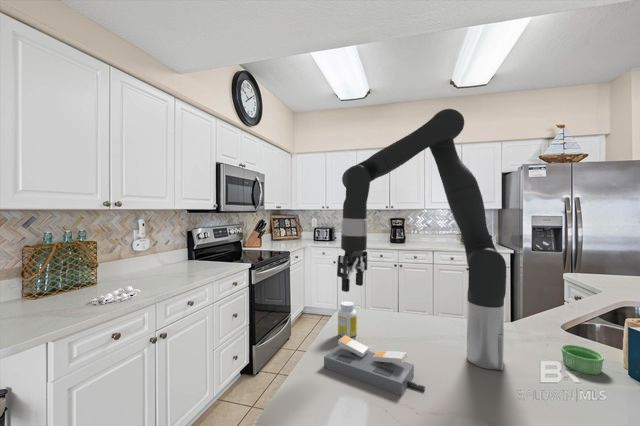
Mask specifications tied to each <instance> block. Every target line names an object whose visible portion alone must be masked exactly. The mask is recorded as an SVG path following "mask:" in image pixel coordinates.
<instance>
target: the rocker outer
mask: <svg viewBox="0 0 640 426" xmlns="http://www.w3.org/2000/svg"><path fill="white" fill-rule="evenodd" d="M337 345H338V346H339V345H340V346H342V347H344V348H346V349H348V350H350V351H351V352H353V353H355V354H357V355H359V356H361V357H363V356H364V355H365V354H366V353H367V352H368V351H370V348H369V346H367V345H366V344H362V343H361V342H359V341H357V340H355V339H351V338H349V337H347V336H346V335H345V336H343V337H342V338H339V339H338V342H337Z"/></svg>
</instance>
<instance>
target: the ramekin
mask: <svg viewBox="0 0 640 426" xmlns="http://www.w3.org/2000/svg"><path fill="white" fill-rule="evenodd" d="M560 349H561V350H560V351H561V353H562V362H563V364H564V365H565V366H566V365H567V366H566V367H568V368H569V367H570V369H571V370H573V369H574V370H573V371H576V372H579V373H582V374H586V375H595V376H596V375H600V374H601V373H602V370H603V362H604V360H605V357H604V355H603V354H602V353H600V352H598V351H596V350H594V349H591V348H588V347H585V346H581V345H577V344H576V345H575V344H562V345H561V347H560Z"/></svg>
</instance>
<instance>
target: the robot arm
mask: <svg viewBox="0 0 640 426" xmlns="http://www.w3.org/2000/svg"><path fill="white" fill-rule="evenodd" d="M464 127H465V118H464V115H463V114H462V113H461V111H459V110H458V109H455V108H449V107H448V108H444V109H441V110H440V111H438V112H436V113H435V114H434V115H433V116H432V117H431V118H430V119H429V120H428V121H427V122H425V123H423V125H421V126H420V127H419V128H417V129H416V130H414V131H412V132H411V133H409V134H407V135H405V136H404V137H402V138H399V139H398V140H397V141H395V142H393V143H391V144H389V145H388V146H386V147H384V148H382V149H380V150H378V151H377V152H375V153H374V154H372V155H371V156H369V157H368V158H367V159H365V160H363V161H362V162H359V163H358V164H355V165H352V166H350V167H349V168H348V169H346V170H345V171H344V173H343V174H342V177H341V178H342V180H341V181H342V184H343V186H344V187H345V199H344V201H343V206H342V222H341V231H340V232H341V235H340V236H341V240H340V248H341V250H343V251H344V255H340V254H339V255H338V256H337V267H336V268H337V269H336V270H337V272H336V276H337V277H338V278H341V291H342V292H346V293H348V292H350V287H351V284H350V282H351V280H350V277H351V275H352V273H353V272H354V271H355V285H356V286H361V287H362V286H363V285H364V274H365V272H366V271H367V270H368V251H366V250H367V248H368V247H367V246H368V245H367V244H368V243H367V242H368V240H367V239H368V222H367V216H368V215H367V211H368V210H367V207H368V205H367V203H368V198H369V195H370V194H369V191H370V188H371V187H370V185H371V182H373V181H375V180H376V179H378V178H380V177H383V176H386V175H387V174H389V173H390V172H393V171H394V170H397V168H399V167H401V166H402V165H404V164H406V163H407V162H409V161H410V160H411V159H413V158H414V157H416V156H417V155H418V154H420V153H421V152H423V151H424V150H426V149H428V148H429V150H430V152H431V155H432V156H433V159H434V161H435V165H436V167H437V170H438V174H439V176H440V177H439V178H440V180H441V183H442V186H443V189H444V194H445V196H446V200H447V203H448V206H449V209H450V211H451V214H452V216H453V218H454V221H455V223H456V226H457V227H458V229H459V231H460V234H461V237H462V241H463V245H464V252H465V257H466V264H467V266H468V277H467V278H468V279H467V280H468V284H467V285H468V287H467V297H466V298H467V299H466V301H467V303H466V304H467V305H466V307H467V308H466V320H467V321H466V359H467V361H469V362H470V363H471V364H473V365H475V366H477V367H480V368H481V369H487V370H501V371H503V370H504V359H505V358H504V352H505V350H504V345H505V343H504V341H505V339H504V338H505V337H504V334H505V330H504V321H505V320H504V318H505V317H504V316H505V315H504V314H505V313H504V312H505V311H504V308H505V307H504V305H505V297H506V293H507V292H506V290H507V289H506V288H507V263H506V260H505V258H504V257H503V255H502V254H501V253H500V252H498V250H497V248H496V246H495V244H494V242H493V240H492V238H491V234H490V232H489V229H488V225H487V218H486V210H485V203H484V199H483V195H482V193H481V189H480V186H479V182H478V180H477V179H476V176H474V174H473V172H472V171H470V169H469V168H468V167H467V165H465V164H464V162H463V161H462V160H461V158H460V157H459V154H458V152H457V149H456V144H455V139H456V138H457V137H458V136H459V135H460V134H461V133H462V131H463V130H464Z"/></svg>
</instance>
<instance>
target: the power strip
mask: <svg viewBox="0 0 640 426" xmlns="http://www.w3.org/2000/svg"><path fill="white" fill-rule="evenodd" d="M376 353H377V352H373V351H370V350H368V352H367V353H366V354H365V355H364V356H363V357H361V356H359V355H357V354H355V353H353V352H351V351H350V350H348V349H346V348H344V347H342V346H340V345H339V344H338V345H337V346H336V347H334V348H333V349H332V350H331V351H329V352H328V353H327V354H325V355H324V356H323V368H325V369H328V370H330V371H332V372H336V373H338V374H341V375H344V376H346V377H349V378H352V379H355V380H357V381H360V382H363V383H365V384H369V385H372V386H373V387H377V388H379V389H382V390H385V391H387V392H390V393H393V394H396V395H399V396H401V397H403V395H404V393H405V391H406V389H407V387H411V388H414V389H417V390H421V391H424V392H425V390H426V386H424V385H422V384H418V383H415V382H412V379H413V377H414V376H415V365H414V363H409V362H407V361H404V362H403V364H402V363H390V362H379V361H374V360H373V356H374V355H375V354H376Z"/></svg>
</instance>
